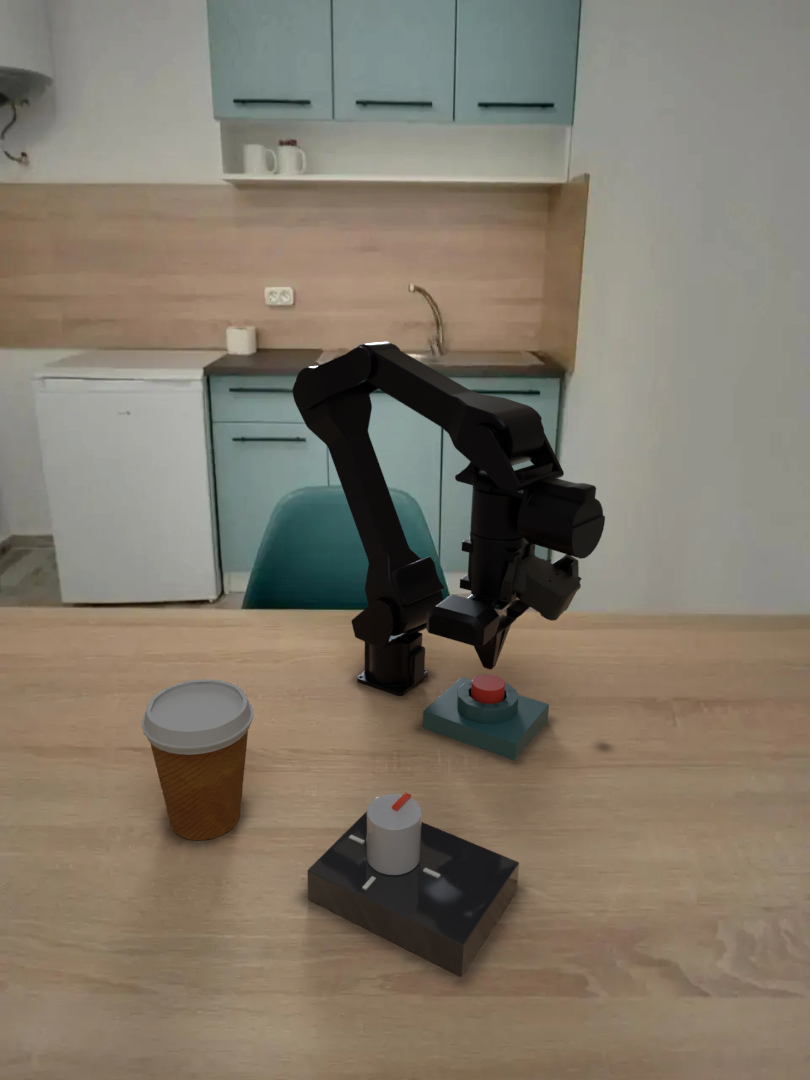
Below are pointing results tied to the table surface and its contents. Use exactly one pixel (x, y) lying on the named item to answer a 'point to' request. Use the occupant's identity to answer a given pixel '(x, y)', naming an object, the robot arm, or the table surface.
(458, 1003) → the table surface
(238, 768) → the disposable coffee cup
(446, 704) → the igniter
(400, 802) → the hob knob
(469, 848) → the hob panel
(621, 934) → the table surface
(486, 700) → the button
